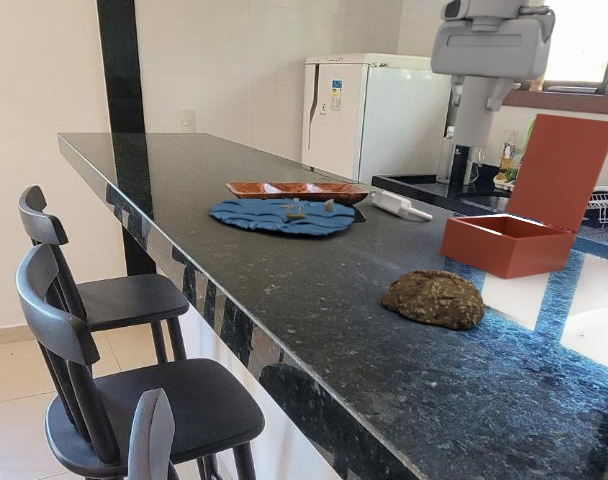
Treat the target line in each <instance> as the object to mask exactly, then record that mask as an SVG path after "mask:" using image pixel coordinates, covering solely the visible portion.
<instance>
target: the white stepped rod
mask: <svg viewBox="0 0 608 480" xmlns="http://www.w3.org/2000/svg"><path fill="white" fill-rule="evenodd" d="M371 198H372V201H371V202H372V203H374V204H376V205H377V206H378V207H379V208H380V209H383V210H386V211H388V212H390V213H392V214H394V215H396V216H399V217H402V218H405V217H408V215H409V214H412V215H414V216H417V217H420V218H423V219H425V220H427V221H431V220H433V216H432V215H431V214H429V213H426V212H424V211H421V210H419V209H416V208H413V207H412V200H411V201H410V200H409V199H407V198H405V197H402V196H399V195H396V194H394V193H391V192H389V191H387V190H383V191H380V190H375V193H371Z"/></svg>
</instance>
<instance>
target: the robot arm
mask: <svg viewBox="0 0 608 480" xmlns="http://www.w3.org/2000/svg"><path fill="white" fill-rule="evenodd" d="M530 3H531V0H449V1H447V2H445V3H444V4H443V5H442V7H441V8H440V14H439V15H440V19H441V20H442V21H443V22H442V23H441V24H439V27H438V28H437V31H436V34H435V37H434V42H433V45H432V51H431V56H430V61H429V63H430V64H429V65H430V69H431V72H432V73H433V74H437V75H445V76H450V82H449V83H450V88H451V91H452V94H453V95H452V99H451V107H456V108H459V103H460V98H461V93H462V88H463V83H464V79H465V76H473V77H485V78H494V79H498V81H497V86H499V88H498V89H497V91H496V93H495V94H494V96H493V97H492V98H488V100H487V105H486V110H488V111H495V113H496V112H497V113H499V112H500V110H501V106H502V104H503V101H504V99H505V98H506V97H507V95H508V94H509V93H510V92H511V90H512V89H513V87H514V82H515V80H518V81H519V80H520V81H535V82H536V81H537V82H538V81H539V80H540V79H541V78H542V77H543V76H544V74H546V71H547V66H548V61H549V56H550V51H551V43H552V35H553V34H554V29H555V25H556V22H557V17H556V14H555V12H554V10H553V9H551V7H550V6H549V5H545V4H543V5H540V6H533V5H530Z"/></svg>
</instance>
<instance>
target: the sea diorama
mask: <svg viewBox="0 0 608 480" xmlns="http://www.w3.org/2000/svg"><path fill="white" fill-rule="evenodd" d="M284 198H285V199H266V200H261V199H262V198H261V199H256V198H253V199H251V198H245V199H244V198H236V199H224V201H221V202H219V203H215V204H214V206H212V207H211V210H210V211H211V212H208V214H209V215H210V216H214V217H215V218H217V219H220V221H221V222H223V223H226V224H233V225H237V226H239V227H241V228H242V229H243V228H245V229H248V228H250V229H251V230H255V229H256V228H259V229H262V228H263V229H267V230H270V231H272V230H273V231H277V232H283V233H293V234H299V233H301V234H309V235H312V236H317V235H318V236H321V235H323V236H328V234H330V233H331V234H332V233H333V232H336V231H344V230H346V229H349V227H350V226H348V225H352V223H353V221H355V218H353V217H350V216H355V210H354V208H351V207H347V206H345V205H343V204H340V203H336V202H334V200H335V199H329V200H326V201H325V202H323V201H308V200H301V201H299V200H300V198H297V197H295V198H293V200H292V198H288V197H284ZM344 215H349V216H344ZM287 222H288V223H287Z"/></svg>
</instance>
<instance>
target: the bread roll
mask: <svg viewBox="0 0 608 480" xmlns="http://www.w3.org/2000/svg"><path fill="white" fill-rule="evenodd" d="M380 303H381V304H382V306H383V307H385V308H387V309H388V310H389V311H392V312H395V313H399V314H400V315H402V316H404V317H405V318H407V319H410V320H413V321H417V322H420V323H423V324H424V323H425V324H430V325H435V326H443V327H446V328H449V329H451V330H469V329H473V328H475V327H476V326H478V325H479V324H480V322H481V321H483V318H484V317H485V315H486V305H485V303H484V298H483V296H482V294H481V292H480V290H479V289H478V288H477V285H476V284H474V283H473V281H471V280H468V279H466V278H464V277H463V276H461V275H458V274H456V273H453V272H450V271H446V270H436V269H425V268H424V269H416V270H412V271H409V272H405V273H403V274H402V275H400V276H399V277H398V278H396V279H395V280H393V281H392V282H391V283H390V284H389V286H388V288H387V290H386V292H384V293H383V295H381V297H380Z"/></svg>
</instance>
